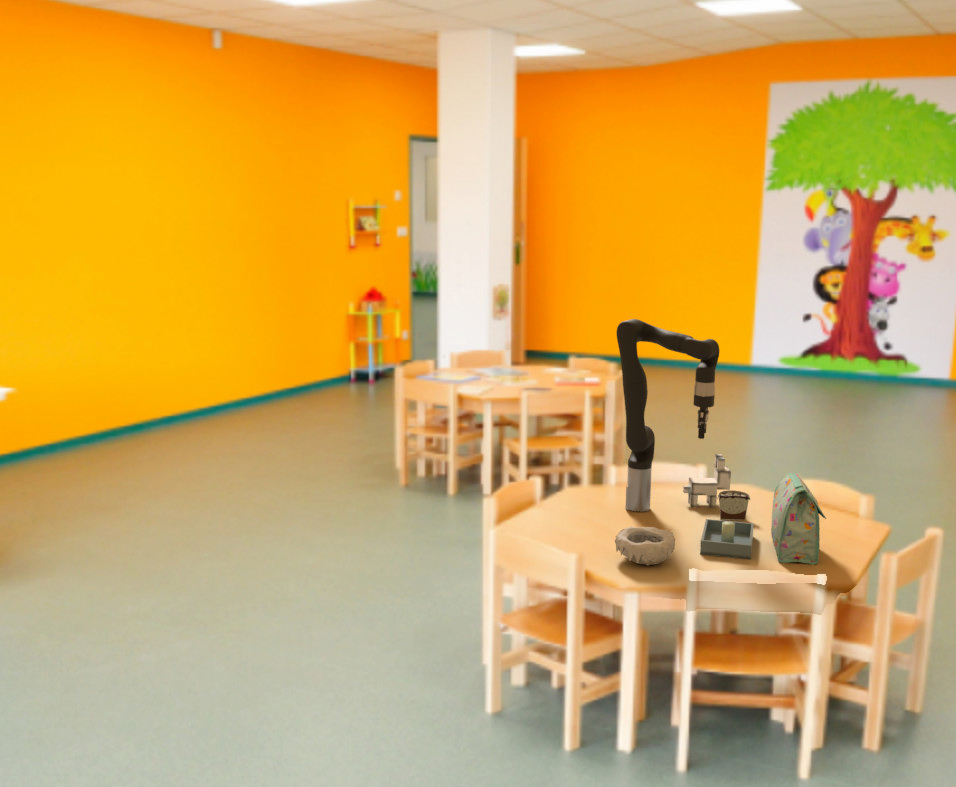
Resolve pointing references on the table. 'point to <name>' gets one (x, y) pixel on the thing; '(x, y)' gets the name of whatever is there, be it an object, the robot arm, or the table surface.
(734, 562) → the table surface
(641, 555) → the bowl
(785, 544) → the lunch bag
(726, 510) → the food container
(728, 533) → the sage cylinder
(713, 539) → the bin
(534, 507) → the table surface
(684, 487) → the toy llama
